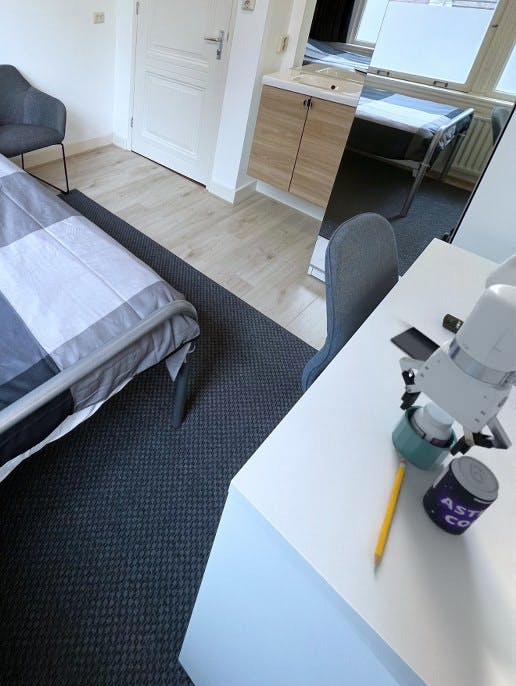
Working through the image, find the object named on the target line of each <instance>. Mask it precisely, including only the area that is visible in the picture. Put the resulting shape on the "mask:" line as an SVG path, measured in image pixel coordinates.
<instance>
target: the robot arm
mask: <svg viewBox="0 0 516 686" xmlns="http://www.w3.org/2000/svg"><path fill="white" fill-rule="evenodd" d="M484 289H485V290H484V291H483V292H482V293H481V295H480V296H479V298H478V300H477V301H476V303H475V304H474V306H473V308H472V309H471V310H470V312H469V313H468V315H467V316H466V318H465V320H464V321H463V322H462V324H461V326H460V327H459V329H458V330H457V332H456V333H455V335H454V336H453V338H452V339H448V340H446V341H445V342H444V343H443V344H442V345H439V346H440V347H439V348H438V349H437V350H436V351H435V352H434V353H433V354H432V355H431V356H430V358H429V359H428V360H427V361H426V362H425V361H421V360H416V359H414V358H413V357H406V356H403V357H402V358H400V359H399V366H400V370H401V376H402V379H403V381H404V384H405V386H404V390H405V391H404V393H403V394H402V396H401V398H400V400H401V401H402V403H401V404H400V406H399V408H400V409H401V410H402V411H405V410H406V409H407V408H409V407H410V406H414V404H415V403H416V402H417V400H418V399H419V397H420V395H422V393H423V395H424V396H426V397H427V398H429V399H430V400H431V402H434V403H435V404H437V405H438V406H439V407H440V408H441V409H442V410H444V411H445V412H446V413H447V414H448V415H450V416H451V417H452V418H453V419H454V421H455V422H457V424H459V425H460V426H461V427H462V430H463V435H462V436H461V437H459V439H457V443H456V444H455V445H454V446H453V448H452V449H451V450H450V452H451V453H450V455H451V456H452V457H455V456H456V455H458V453H460V454H461V455H462V456H466V454H467V453H468V452H469V451H470V450H471V449H472V448H473V447H475V446H477V447H481V448H485V449H495V450H509V448H511V447H512V446H513V443H512V441H511V439H510V438H509V436H508V434H507V432H506V431H505V429H504V427H503V425H502V424H501V422H500V420H499V419H498V415H499V413H500V412H501V410H502V409H503V407H504V406H505V404H506V402H507V400H508V399H509V397H510V394H511V391H512V390H513V389H512V388H513V386H514V387H516V252H515V253H514V254H512V255H510V256H509V257H508V258H506V259H505V260H503V261H502V262H501V263H499V264H498V265H497V266H496V267H494V269H492V270H491V271H490V273H489V274H488V275H487V277H486V279H485V282H484ZM414 370H417V372H416V374H415V372H414ZM485 427H488V429H489V431H490V433H491V434H492V435H491V434H490V435H489V434H486V433H483V429H485Z"/></svg>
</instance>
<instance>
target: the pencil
mask: <svg viewBox="0 0 516 686" xmlns="http://www.w3.org/2000/svg"><path fill="white" fill-rule="evenodd" d="M407 466H408V463H407V460H406V459H401V461H400V464H399V468H398V471H397V475H396V478H395V482H394V484H393V489H392V492H391V495H390V499H389V502H388V505H387V509H386V513H385V516H384V520H383V523H382V526H381V531H380V534H379V537H378V541H377V544H376V547H375V551H374V561H373V562H374V564H373V565H374V567H376V566H377V565H378V563H379V562H380V560H381V558H382V555H383V552H384V548H385V544H386V541H387V538H388V533H389V530H390V526H391V523H392V519H393V515H394V513H395V512H394V511H395V508H396V504H397V500H398V497H399V493H400V490H401V486H402V483H403V479H404V475H405V471H406V469H407Z"/></svg>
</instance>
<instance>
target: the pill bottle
mask: <svg viewBox="0 0 516 686" xmlns="http://www.w3.org/2000/svg"><path fill="white" fill-rule="evenodd" d="M422 407H423V408H419V409H417V410H416V411H415V413H414V415H413V416H412V418H411V419H410V421H409V424H410V425H411V427H412V428H413V430H414V431H415V432H416V433H417V434H418V435H419V436H420V437H421V438H422V439H423V440H425V441H427V442H428V443H430V444H431V445H434V446H437V447H440V448H443V446H444V445H445V444H446V442H447V441H448V440H449V438H450V437H451V434H452V429H453V428H452V426H453V425H454V422H455V420H454V419H453V418H452V417H451V416H450V415H448V414H447V413H446V412H445V411H444V410H442V409H441V408H440V407H439V406H438V405H437V404H435V403H434V402H433V401H429V402H427V403H426V404H425V406H422ZM451 428H452V429H451Z"/></svg>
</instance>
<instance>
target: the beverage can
mask: <svg viewBox="0 0 516 686" xmlns="http://www.w3.org/2000/svg"><path fill="white" fill-rule="evenodd" d="M499 490H500V483H499V479H498V478H497V476H496V475H495V473H494V472H493V471H492V470H491V469H490V468H489V467H488V465H486V464H485V463H484V462H482V461H481V460H479V459H477V458H475V457H473V456H469V455H461V456H459V457H455V458H452V460H451V461H449V463H448V465H446V467H445V468H444V469H443V470H442V472H441V473H440V474H439V475H438V477H437V478H436V480H435V481H434V482H433V483H432V484H431V485H430V486H429V488H428V489H427V490H426V491H425V493H424V494H423V496H422V506H423V509H424V511H425V513H426V514H427V516H428V517H429V519H430V521H432V522H433V523H434V525H436V526H437V527H438V528H439V529H440V530H442V531H444V532H445V533H448V534H449V535H453V536H461V535H463V534H464V533H465V532H466V531H467V530H468V529H469V528H470V527H471V526H472V525H473V524H474V523H475V522H476V521H477V520H478V519H479V518H480V517H481V515H483V514H484V513H485V511H487V509H489V507H490V506H491V505H492V504H493V503H494V502H496V500H497V499H498V497H499Z"/></svg>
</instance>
